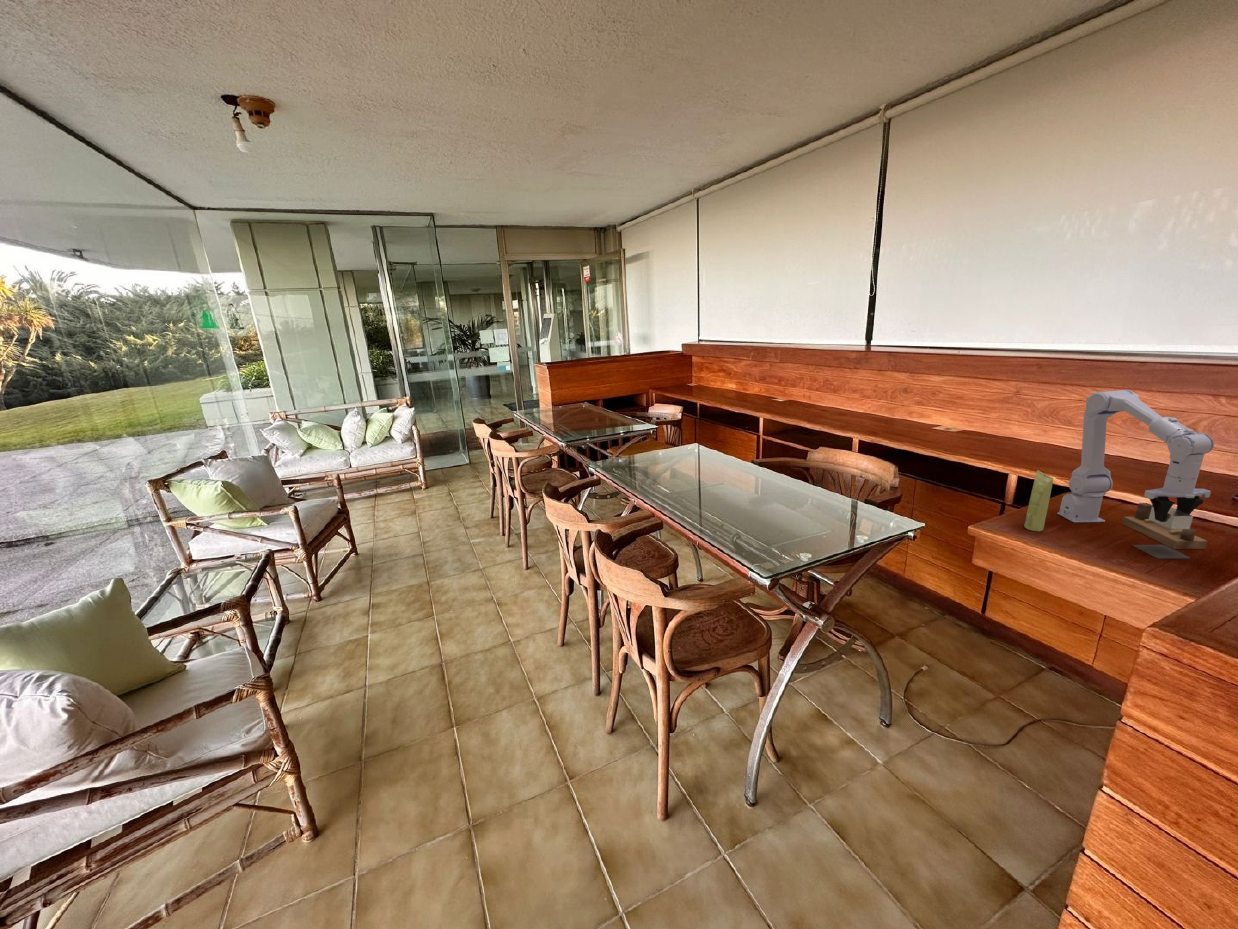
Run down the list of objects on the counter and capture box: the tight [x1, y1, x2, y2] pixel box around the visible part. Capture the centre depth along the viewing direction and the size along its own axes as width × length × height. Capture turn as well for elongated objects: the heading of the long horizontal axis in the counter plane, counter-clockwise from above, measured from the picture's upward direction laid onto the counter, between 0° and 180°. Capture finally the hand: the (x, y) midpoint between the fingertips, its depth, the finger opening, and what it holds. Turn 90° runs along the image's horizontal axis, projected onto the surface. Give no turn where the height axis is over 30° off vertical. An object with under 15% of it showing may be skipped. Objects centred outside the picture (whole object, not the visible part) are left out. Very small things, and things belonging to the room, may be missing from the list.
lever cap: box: [1149, 506, 1194, 529], centre depth 139 cm, size 4×7×4 cm, turn 172°
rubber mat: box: [1132, 544, 1191, 560], centre depth 141 cm, size 8×8×1 cm
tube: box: [1024, 470, 1054, 532], centre depth 158 cm, size 6×5×20 cm
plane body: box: [1121, 502, 1208, 550], centre depth 149 cm, size 8×18×8 cm, turn 172°
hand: (1169, 520), depth 139 cm, fingers closed on lever cap, 4 cm apart
